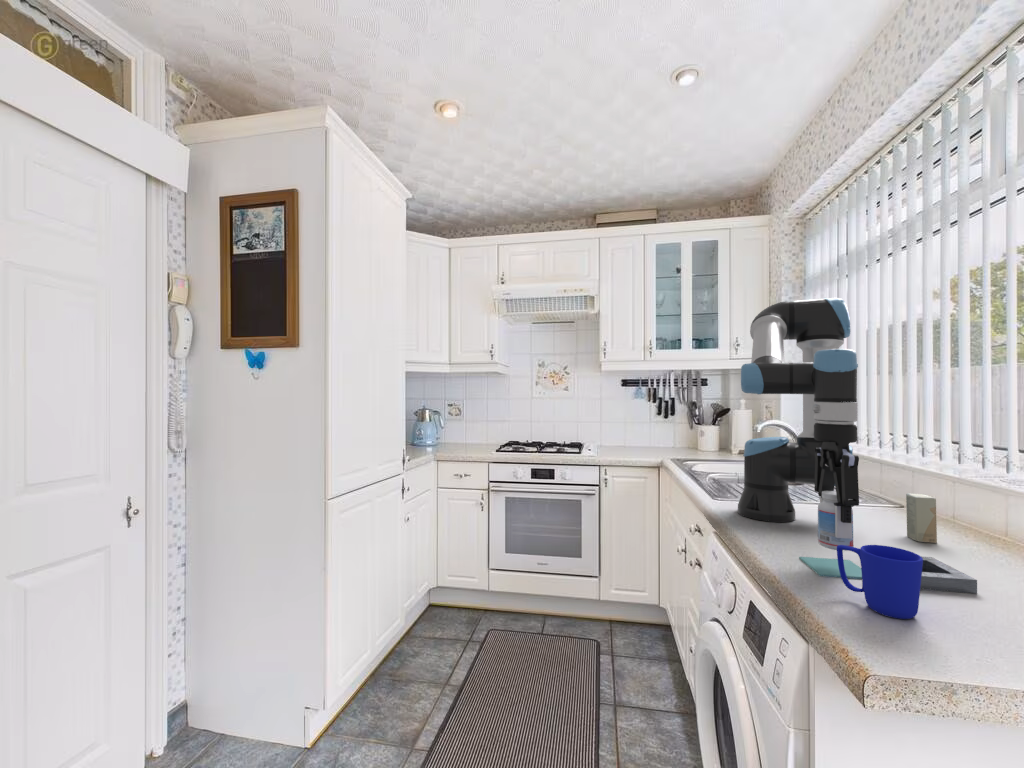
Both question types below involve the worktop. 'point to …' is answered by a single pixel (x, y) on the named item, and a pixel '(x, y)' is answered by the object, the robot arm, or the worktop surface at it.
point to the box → (921, 518)
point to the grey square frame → (945, 578)
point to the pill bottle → (830, 522)
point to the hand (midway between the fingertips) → (835, 532)
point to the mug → (887, 579)
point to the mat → (832, 567)
